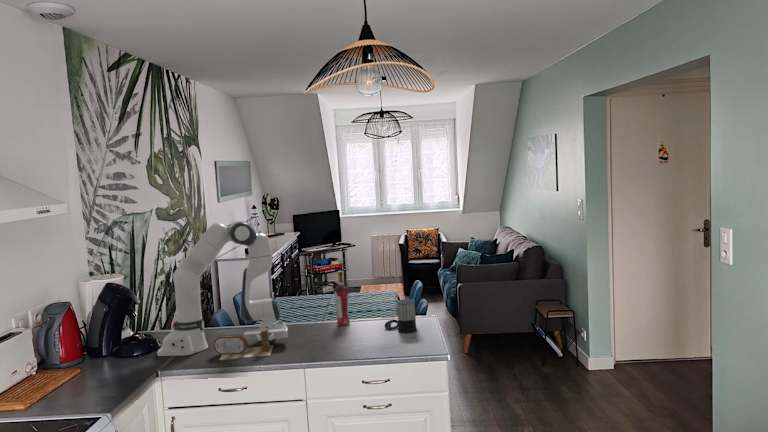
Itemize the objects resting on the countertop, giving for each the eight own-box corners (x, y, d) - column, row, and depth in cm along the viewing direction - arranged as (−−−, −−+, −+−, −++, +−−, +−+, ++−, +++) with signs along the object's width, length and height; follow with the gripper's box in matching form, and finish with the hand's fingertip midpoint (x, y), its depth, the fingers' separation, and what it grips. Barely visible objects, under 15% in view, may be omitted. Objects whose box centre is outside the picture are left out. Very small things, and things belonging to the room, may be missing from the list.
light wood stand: (219, 360, 252) (217, 338, 251) (224, 350, 266) (222, 329, 265) (270, 355, 254) (268, 333, 253) (272, 346, 268) (271, 325, 267)
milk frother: (417, 333, 275) (415, 302, 274) (384, 335, 275) (382, 304, 274) (416, 325, 289) (414, 296, 288) (384, 326, 290) (383, 297, 288)
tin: (248, 352, 260) (247, 333, 259) (246, 354, 257) (244, 335, 256) (216, 352, 262) (214, 334, 261) (213, 355, 258) (212, 336, 258)
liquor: (334, 324, 300) (330, 271, 297) (347, 321, 303) (343, 269, 301) (339, 327, 293) (336, 273, 291) (352, 324, 297) (349, 271, 294)
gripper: (244, 326, 272) (240, 334, 258) (288, 322, 274) (286, 330, 260) (245, 339, 272) (241, 348, 259) (289, 335, 274) (287, 343, 261)
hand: (264, 339), depth 259 cm, fingers closed on light wood stand, 3 cm apart
